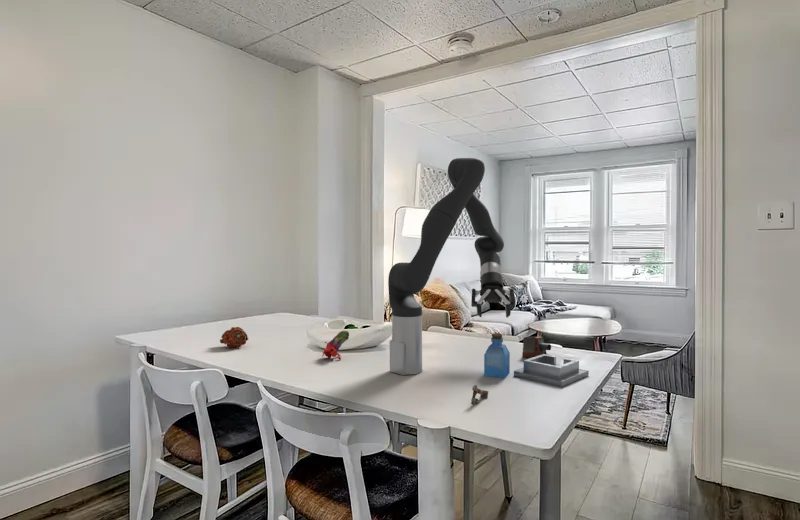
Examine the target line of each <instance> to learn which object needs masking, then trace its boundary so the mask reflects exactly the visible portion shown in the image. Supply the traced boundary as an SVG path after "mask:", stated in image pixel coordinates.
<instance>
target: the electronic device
mask: <svg viewBox="0 0 800 520" xmlns="http://www.w3.org/2000/svg"><path fill="white" fill-rule="evenodd" d="M522 341H523V343H522V358H527V359H530V358H533V357H536V356H539V355H542V354H545V355H549V354H548V353H547V351H551V349H552V345H551V344H550V343H545V340H544V337H543V336H537V335H536V336H524V337H523V338H522Z"/></svg>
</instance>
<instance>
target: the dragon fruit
mask: <svg viewBox="0 0 800 520" xmlns="http://www.w3.org/2000/svg"><path fill="white" fill-rule="evenodd" d="M247 341H249V336H248V334H247V332H246V331H245V330H244V329H243V328H242V327H240V326H236V327H235V326H234V327H233V326H232V327H231V328H230V329H228V330H225V331H224V332H223V333H222V334H221V338H220V339H219V343H220V344H224V345H226V347H227V348H229V349H232V348H235V349H240V348H241V347H242V346H244V345H246V343H247ZM239 347H240V348H239Z"/></svg>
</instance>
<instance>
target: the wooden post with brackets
mask: <svg viewBox="0 0 800 520" xmlns="http://www.w3.org/2000/svg"><path fill="white" fill-rule="evenodd" d="M471 390H472V397H471V402H470V404H471V405H475V404H480V399H479V398H477V397H476V396H477V394H478V395H480V398H484V399H488V398H489V391H488V390H483V389H480V388H479V387H478V385H477V384H475V385H472V389H471Z"/></svg>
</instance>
